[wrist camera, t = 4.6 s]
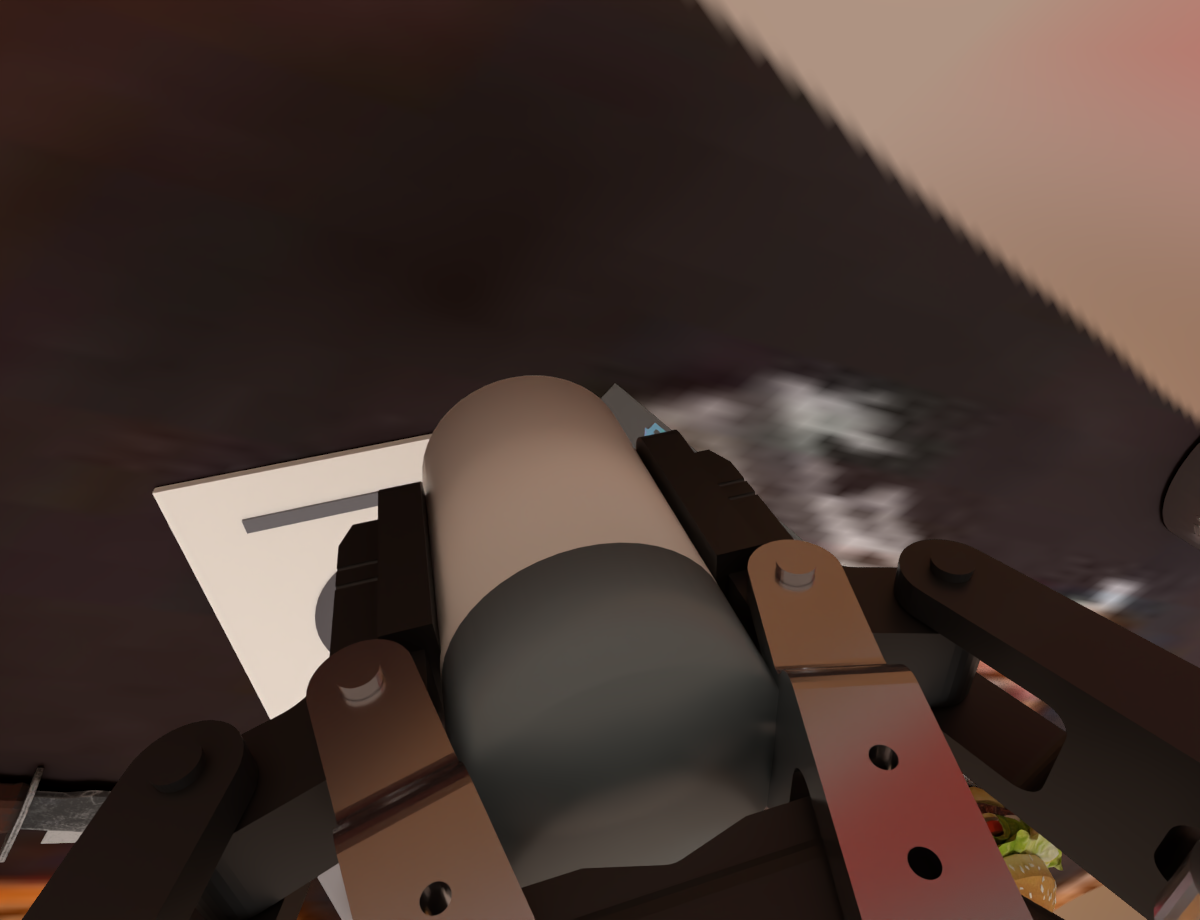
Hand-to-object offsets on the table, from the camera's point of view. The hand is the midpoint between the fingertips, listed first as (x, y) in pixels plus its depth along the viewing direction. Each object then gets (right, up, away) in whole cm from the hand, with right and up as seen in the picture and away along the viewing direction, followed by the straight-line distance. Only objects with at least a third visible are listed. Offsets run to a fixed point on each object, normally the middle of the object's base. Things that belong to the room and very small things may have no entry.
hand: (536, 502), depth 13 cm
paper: (-6, -5, +13) cm, 15 cm away
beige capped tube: (0, +1, +1) cm, 1 cm away
